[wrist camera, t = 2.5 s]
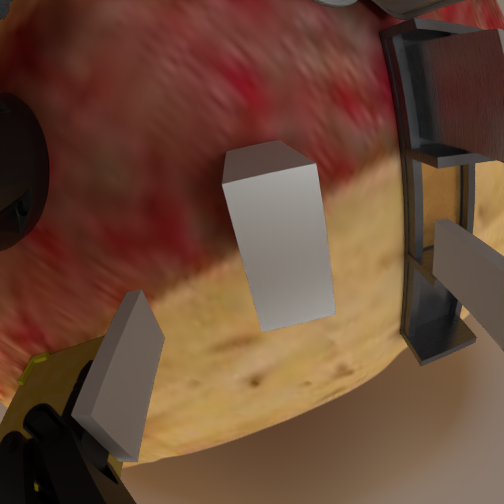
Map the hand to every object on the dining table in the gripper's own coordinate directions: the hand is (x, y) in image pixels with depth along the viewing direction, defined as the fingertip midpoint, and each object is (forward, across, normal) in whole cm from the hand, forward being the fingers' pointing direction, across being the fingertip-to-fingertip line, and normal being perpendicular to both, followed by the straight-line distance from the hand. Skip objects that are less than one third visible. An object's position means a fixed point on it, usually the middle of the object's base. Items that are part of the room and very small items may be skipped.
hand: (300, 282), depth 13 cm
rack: (+13, +16, -3) cm, 21 cm away
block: (+13, 0, 0) cm, 13 cm away
